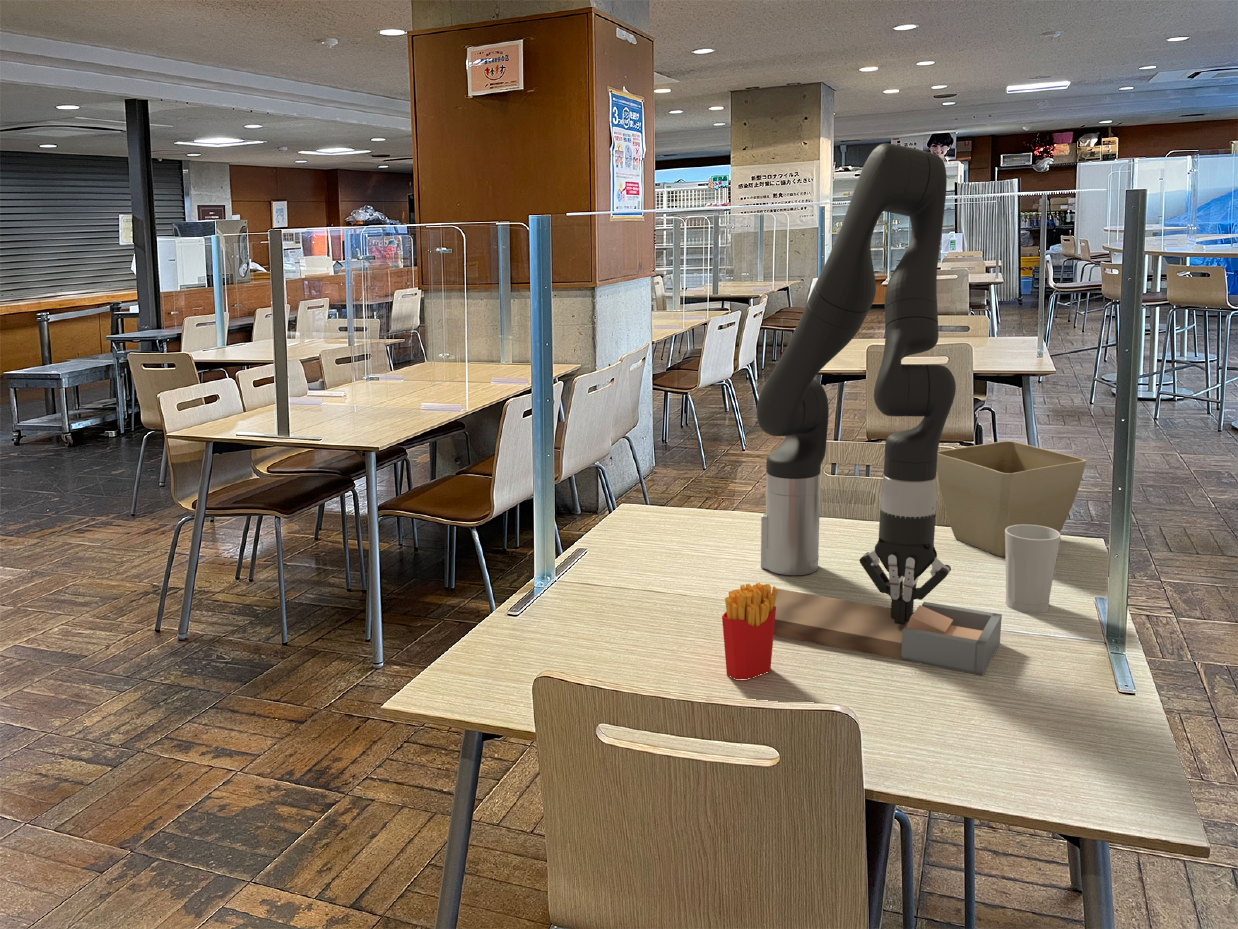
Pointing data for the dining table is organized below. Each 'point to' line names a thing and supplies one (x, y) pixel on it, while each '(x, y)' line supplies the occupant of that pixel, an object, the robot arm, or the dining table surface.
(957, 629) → the tile
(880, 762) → the dining table surface
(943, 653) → the tray
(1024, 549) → the cup
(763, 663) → the french fries
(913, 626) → the tile
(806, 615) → the board
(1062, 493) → the flower pot
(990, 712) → the dining table surface
